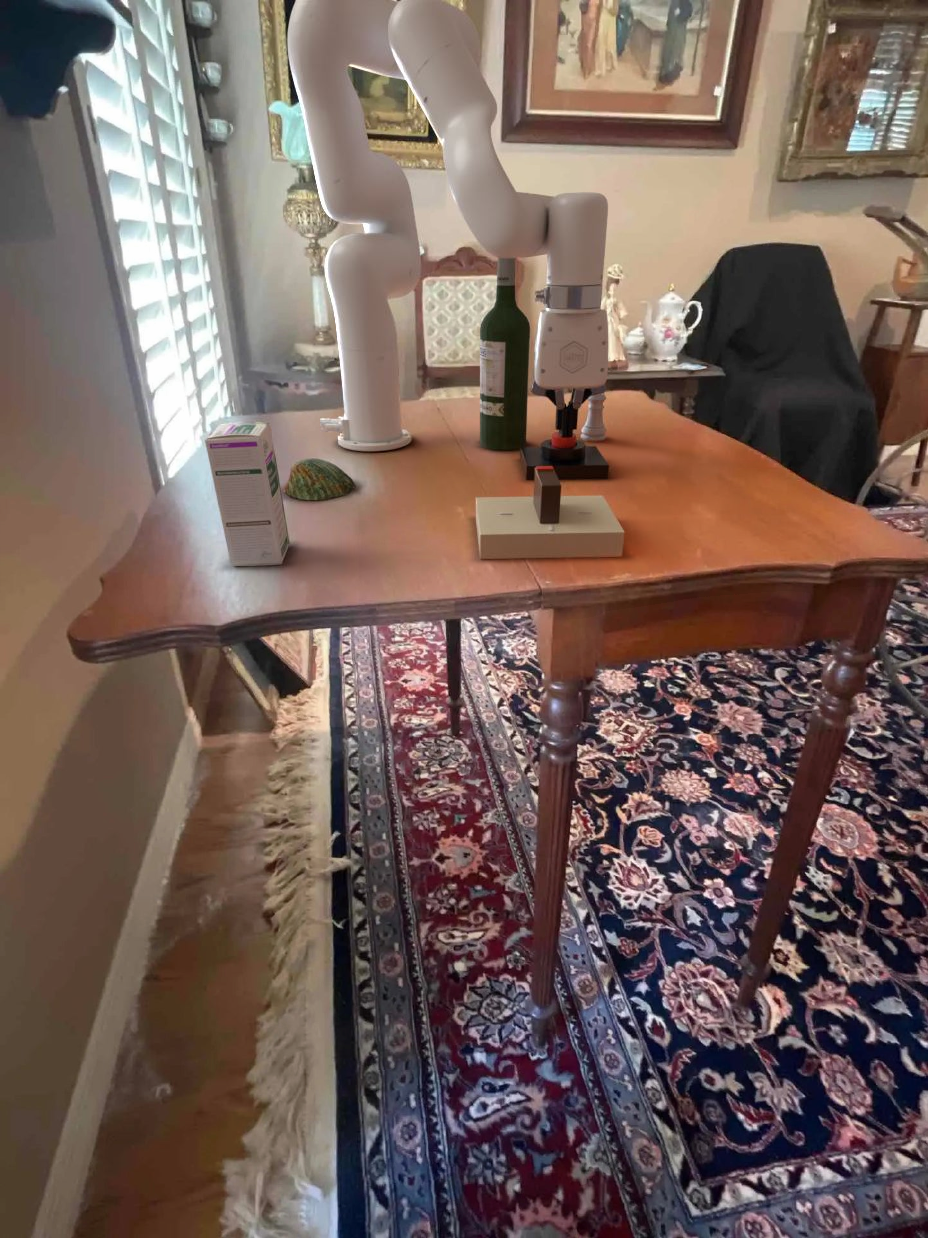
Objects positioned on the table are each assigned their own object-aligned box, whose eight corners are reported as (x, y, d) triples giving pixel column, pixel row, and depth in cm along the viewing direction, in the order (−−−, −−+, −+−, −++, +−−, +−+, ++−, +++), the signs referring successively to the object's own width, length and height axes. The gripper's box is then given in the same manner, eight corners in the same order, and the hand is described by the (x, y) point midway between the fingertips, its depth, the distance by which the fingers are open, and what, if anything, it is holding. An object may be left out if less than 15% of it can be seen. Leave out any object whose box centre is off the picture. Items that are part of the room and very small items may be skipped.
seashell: (306, 474, 91) (266, 459, 97) (308, 504, 92) (269, 488, 99) (367, 464, 97) (326, 450, 103) (368, 492, 99) (327, 477, 105)
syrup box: (283, 565, 76) (263, 434, 69) (228, 567, 76) (203, 435, 69) (290, 544, 81) (272, 420, 74) (239, 546, 81) (216, 421, 74)
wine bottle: (470, 444, 118) (469, 245, 103) (503, 436, 122) (507, 243, 107) (502, 454, 113) (506, 245, 98) (535, 445, 117) (544, 244, 102)
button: (553, 449, 102) (553, 438, 101) (549, 443, 105) (550, 431, 104) (577, 449, 102) (578, 437, 101) (573, 442, 105) (574, 431, 104)
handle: (559, 523, 78) (561, 483, 76) (539, 523, 78) (541, 483, 76) (551, 503, 84) (553, 465, 82) (533, 503, 84) (534, 465, 82)
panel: (480, 559, 77) (480, 533, 76) (475, 519, 88) (475, 495, 86) (621, 556, 78) (624, 530, 76) (600, 517, 88) (603, 493, 87)
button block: (526, 480, 101) (527, 453, 99) (519, 460, 110) (520, 435, 108) (607, 479, 101) (610, 452, 99) (594, 459, 110) (596, 434, 108)
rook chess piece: (607, 442, 118) (612, 394, 114) (581, 442, 118) (585, 394, 114) (603, 435, 122) (608, 389, 118) (578, 435, 122) (582, 389, 118)
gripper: (521, 302, 90) (517, 442, 99) (634, 300, 90) (621, 440, 99) (515, 298, 97) (513, 429, 106) (621, 295, 97) (610, 427, 106)
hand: (565, 434), depth 103 cm, fingers closed
